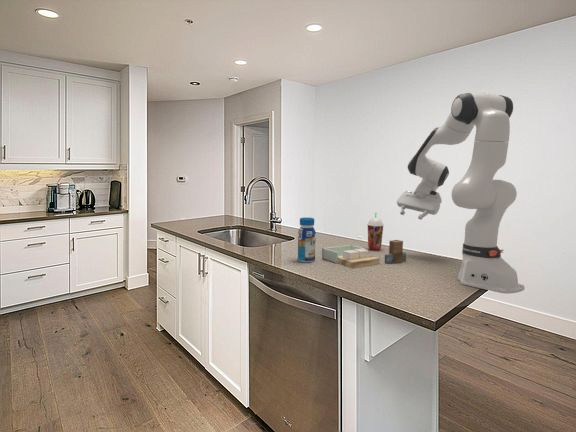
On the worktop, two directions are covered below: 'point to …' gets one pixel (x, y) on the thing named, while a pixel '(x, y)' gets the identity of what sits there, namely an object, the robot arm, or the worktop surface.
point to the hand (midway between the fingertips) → (410, 216)
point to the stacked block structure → (395, 252)
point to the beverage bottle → (306, 240)
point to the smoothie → (375, 234)
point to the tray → (336, 252)
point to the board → (359, 261)
